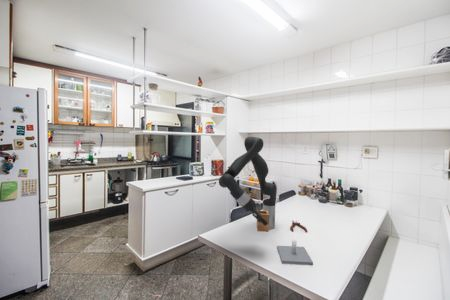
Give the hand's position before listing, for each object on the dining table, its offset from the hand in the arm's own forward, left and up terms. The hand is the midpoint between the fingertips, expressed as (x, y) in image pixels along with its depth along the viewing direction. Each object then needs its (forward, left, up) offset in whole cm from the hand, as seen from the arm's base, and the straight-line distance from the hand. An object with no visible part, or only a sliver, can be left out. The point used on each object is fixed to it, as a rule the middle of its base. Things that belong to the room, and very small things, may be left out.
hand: (265, 222), depth 123 cm
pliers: (-39, +30, -19) cm, 52 cm away
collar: (0, -2, -4) cm, 5 cm away
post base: (+2, +16, -18) cm, 24 cm away
